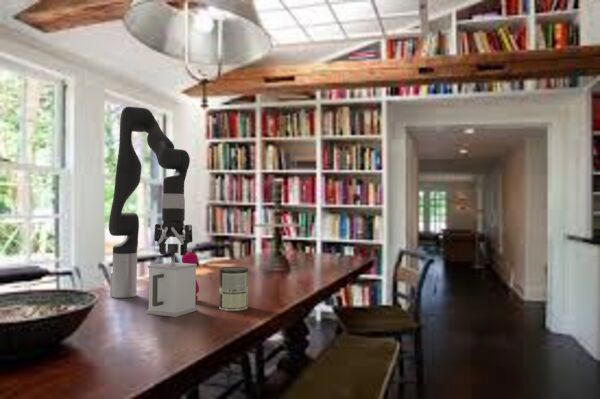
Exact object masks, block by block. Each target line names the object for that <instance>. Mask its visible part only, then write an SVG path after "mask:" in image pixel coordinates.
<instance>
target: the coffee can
mask: <svg viewBox="0 0 600 399" xmlns="http://www.w3.org/2000/svg"><path fill="white" fill-rule="evenodd" d="M218 271H219V278H218V279H219V280H218V281H219V283H218V284H219V285H218V286H219V287H218V288H219V293H218V294H219V295H218V296H219V298H218V299H219V300H218V301H219V302H218V304H219V306H218V307H219V308H218V309H219V310H221V311H226V312H228V311H229V312H235V311H237V312H238V311H244V310H247V309H248V308H249V306H248V304H249V302H248V301H249V300H248V298H249V295H248V294H249V292H248V291H249V290H248V289H249V288H248V287H249V286H248V285H249V267H246V266H245V267H244V266H226V267H220V268H219V269H218Z"/></svg>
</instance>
